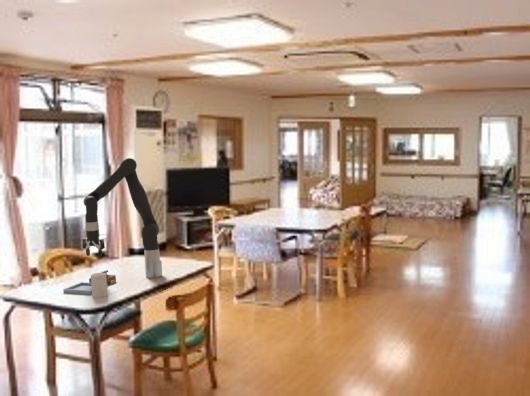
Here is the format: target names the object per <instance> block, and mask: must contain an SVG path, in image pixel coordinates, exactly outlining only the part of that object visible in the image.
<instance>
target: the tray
mask: <svg viewBox="0 0 530 396" xmlns="http://www.w3.org/2000/svg"><path fill="white" fill-rule="evenodd" d="M108 288H109V285H108V284H107V289H108ZM63 294H75V295H88V296H92V285H91V283H89V282H84V281H81V282H79V283H75V284H74V285H73V284H72V285H71V286H68V287H65V288H63Z"/></svg>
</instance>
